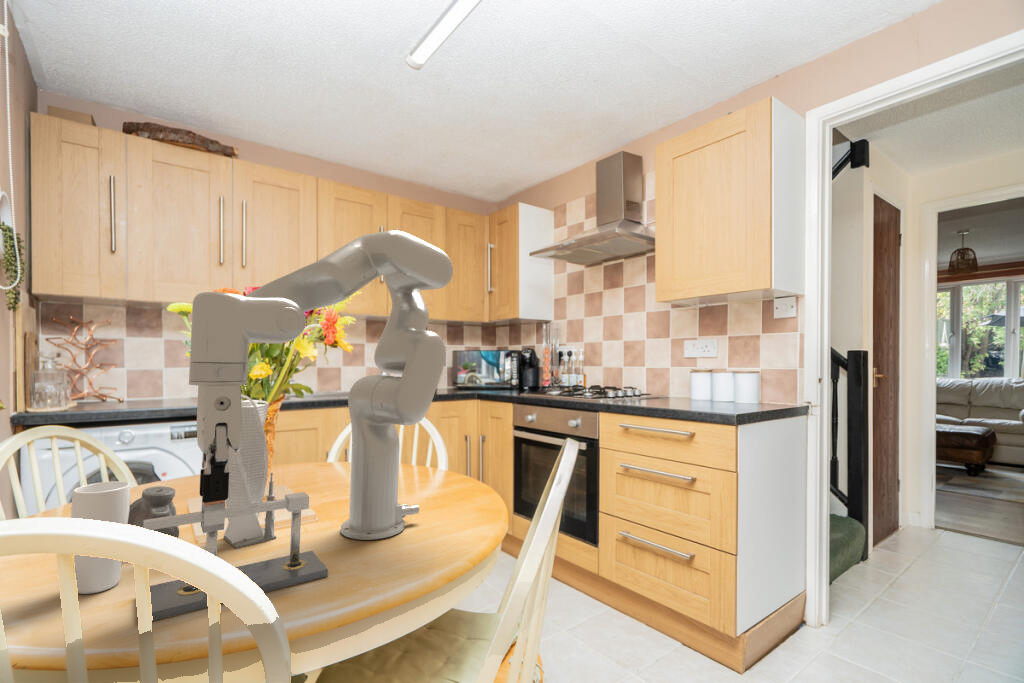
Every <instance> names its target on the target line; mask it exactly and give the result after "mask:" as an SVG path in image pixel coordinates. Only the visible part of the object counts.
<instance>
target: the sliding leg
mask: <svg viewBox="0 0 1024 683" xmlns="http://www.w3.org/2000/svg"><path fill="white" fill-rule="evenodd" d="M211 460H212V459H211ZM204 474H206V460H204V473H203V475H204ZM225 508H226V500H222V501H215V502H208V503H204V502H203V501H202V500H201V511H204V516H203V522H200V527H201V531H202V533H203V534H206V538H205V539H206V540H205V552H206V551H208V552H210V553H212V554H214V555H215V556H217V555H218V554H217V553H218V535H219V534H218V533H219V532H218V531H224V530H225V519H226V518H225Z"/></svg>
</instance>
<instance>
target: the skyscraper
mask: <svg viewBox="0 0 1024 683" xmlns="http://www.w3.org/2000/svg"><path fill="white" fill-rule="evenodd" d="M241 398H243V399H244V400H241V401H242V447H241V449H240V450H239V451H238V452H235V451H234V450H233V449H232V447H231V446H230V445H229V470H228V472H229V490H228V499H227V500H225V508H227V507H234V506H240V505H247V504H254V503H260V502H264V501H263V500H264V497H265V494H266V493H265V491H266V487H267V482H268V481H267V480H268V474H269V471H268V470H269V453H268V451H269V450H268V444H267V439H266V433H265V429H264V426H265V422H266V418H267V414H268V410H269V407H270V402H268V401H266V400H261V399H252V398H251V397H249V396H247V395H245V394H242V393H241ZM245 399H246V400H245ZM273 473H274V472H272V471H271V472H270V481H269V482H268V483H269V484H268V494H267V495H266V502H267V501H274V500H275V498H276V497H275V496H276V495H275V494H274V481H273V476H274V475H273ZM260 513H261V512H259V513H253V514H247V515H241V516H235V517H229V518H227V519H228V523H227V526H226V529H225V531H224V534H223V539H224V540H225V541H226V542H227V543H229V544H230V546H233V547H234V548H235V549H240V548H245V547H248V546H252V545H256V544H261V543H265V542H269V541H271V540H276V538H277V536H276V535H275V510H272V511H266V512H265V518H264V522H265V523H264V525H265V526H264V527H262V526H261V525H260V522H259V516H260Z"/></svg>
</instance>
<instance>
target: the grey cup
mask: <svg viewBox="0 0 1024 683" xmlns="http://www.w3.org/2000/svg"><path fill="white" fill-rule="evenodd" d="M130 505H131V483H130V482H128V481H120V480H119V481H113V480H112V481H102V482H94V483H90V484H85V485H83V486H79V487H76V488H75V489H73V491H72V499H71V506H70V507H71V509H70V510H71V511H70V519H71V518H83V519H93V520H101V521H109V522H116V523H122V524H128V518H129V511H130ZM74 562H75V573H76V580H77V588H78V593H77V594H79V595H80V594H81V595H91V594H96V593H100V592H104V591H107V590H110V589H111V588H113V587H115V586H116V585H118V584H119V582H120V581H121V575H122V564H123V563H122V562H123V560H122V561H118V560H113V559H108V558H99V557H90V556H80V555H75V556H74Z"/></svg>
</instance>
